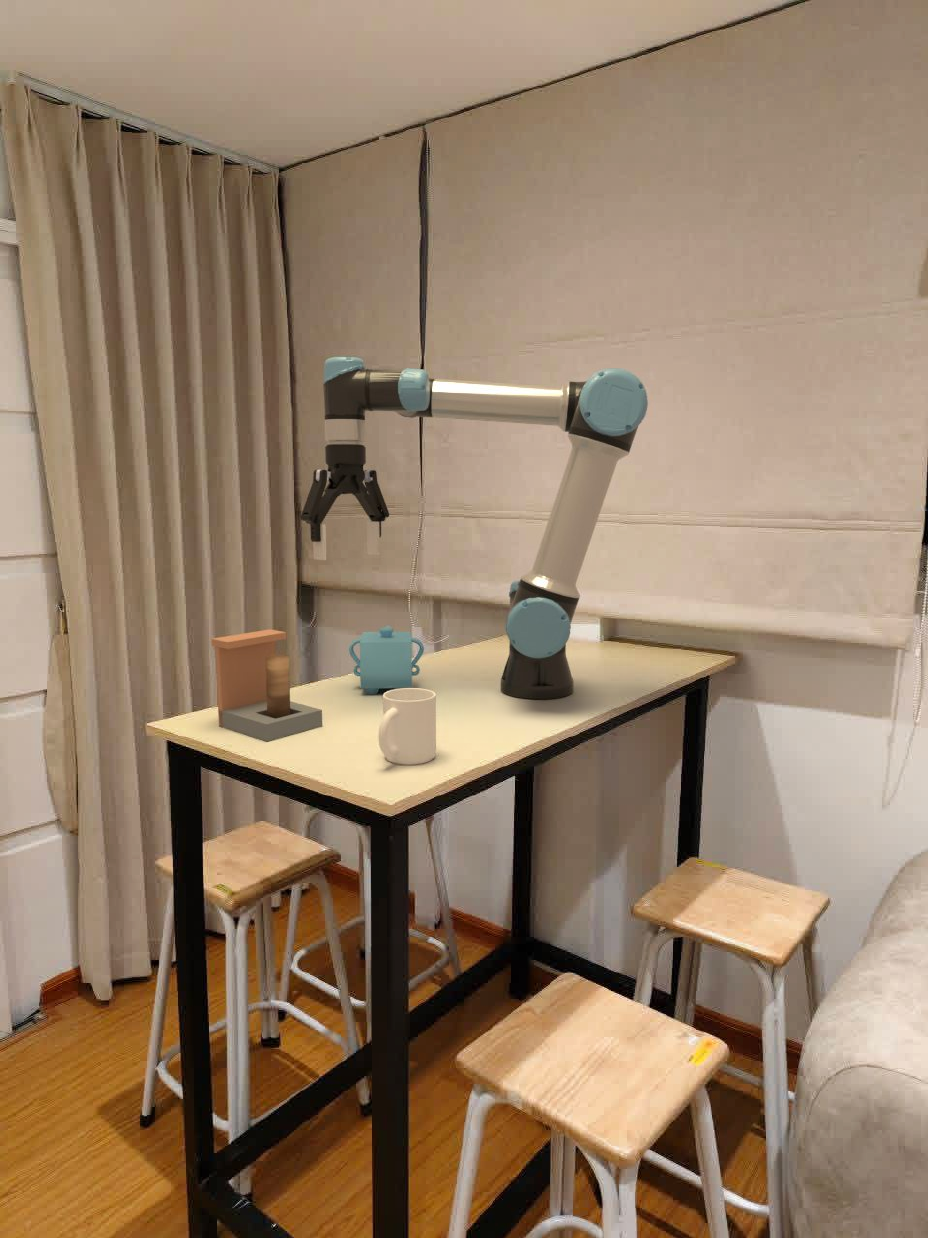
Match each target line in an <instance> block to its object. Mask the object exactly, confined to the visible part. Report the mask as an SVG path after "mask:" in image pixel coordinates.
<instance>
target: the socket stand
mask: <svg viewBox="0 0 928 1238" xmlns="http://www.w3.org/2000/svg"><path fill="white" fill-rule="evenodd" d="M287 638H288V637H287V632H286V631H281V630H276V629H271V628H270V629H264V630H259V631H251V632H245V633H239V634H233V635H227V636H220V637H214V638H211V646H213V647H214V649H215V671H216V673H215V674H216V689H217V690H216V691H217V712H218V713H217V714H218V715H217V716H218V727H220V728H224V729H226V730H230V731H233V732H235V733H239V734H243V735H245V736H248V737H251V738H255V739H258V740H260V741H264V742H271V741H275V740H278V739H281V738H282V739H283V738H285V737H288V736H293V735H295V734H298V733H303V732H306V731H309V730H314V729H316V728H320V727H321V728H322V727H323V709H321V708H316V707H313V706H310V705H305V704H302V703H298V702H293V701H291V700H290V715H288V716H284V717H281V718H277V719H275V718H271V717H268V716H267V692H266V656H268V655H273V654H277V653H276V641H281V640H282V641H283V640H287Z"/></svg>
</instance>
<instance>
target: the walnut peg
mask: <svg viewBox="0 0 928 1238" xmlns="http://www.w3.org/2000/svg"><path fill="white" fill-rule="evenodd" d="M290 680H291V678H290V656H289V655H288V654H285V653H276V654H273V655H268V656H266V692H267V716H268V717H271V718H275V719H277V718H281V717H284V716H288V715H290V701H291V692H290V691H291V689H290V688H291V687H290V686H291V685H290V684H291V683H290Z"/></svg>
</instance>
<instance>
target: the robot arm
mask: <svg viewBox="0 0 928 1238" xmlns="http://www.w3.org/2000/svg"><path fill="white" fill-rule="evenodd" d="M323 366H324V367H323V382H322V386H323V387H322V388H323V404H324V405H323V408H324V441H326V443H328V444H326V446H325V448H324V451H325V452H324V453H325V458H324V459H325V464H326V465H327V470H326V469H315V470H313V479H312V484H311V487H310V490H309V493H308V495H307V498H306V501H305V503H304V507H303V510H302V511H301V514H300V519H301V521H303V522H305V523H306V524H308V525H309V526H310V528H309V529H310V541H311V542H313V543H312V544H313V560H318V561H327V560H328V559H327V531H326V530H327V528H326V524H325V523H323V522H324V520H325V518H326V516H327V515H328V513H329V511H330V510H331V508H332V507H333V505H334V503H335V502H336V500H337V498H338V497H340V496H341V495H352V496H354V497H355V498H356V500H357V501H358V503H359V504H360V506H361V508H362V510H363V511H364V512H365V513H366V515H367V517H368V518H369V520H367V521H366V541H367V543H366V546H367V547H366V548H367V549H366V551H367V553H366V554H367V555H369V556H380V555H381V552H380V549H381V547H380V538H381V537H382V522H385V521H386V519H387V518H389V517H390V512H389V509H388V506H387V504H386V501H385V499H384V495H383V493H382V491H381V488H380V485H379V482H378V474H377V471H376V470H375V469H373V470H370V469H366V470H365V469H364V466H365V464H366V463H367V456H366V455H367V454H366V446H365V445H364V443H365V442H366V412H395V413H397V414H398V415H399V416H401V417H404V418H409V419H410V418H417V417H418V418H435V419H436V418H437V419H451V420H452V419H454V420H464V421H465V420H467V421H468V420H469V421H481V422H482V421H483V422H496V423H497V422H498V423H510V424H511V423H512V424H527V425H528V424H529V425H539V426H543V425H544V426H555V427H556V426H558V427H559V428H560V430H561V431H562V432H566V433H567V432H568V434H567V437H568V439H569V441H570V444H571V451H570V454H569V457H568V460H567V463H566V466H565V468H564V472H563V475H562V478H561V482H560V484H559V487H558V490H557V493H556V497H555V499H554V503H553V505H552V508H551V512H550V514H549V517H548V521H547V523H546V527H545V530H544V533H543V535H542V539H541V542H540V545H539V548H538V551H537V553H536V557H535V560H534V563H533V565H532V569H531V570H530V571H529V572H526V573H525V574H523V575H522V576H521V577H520V580H514V581H513V582H512V583H511V584H510V587H509V592H508V597H509V611H508V615H507V617H506V621H505V631H506V636H507V638H508V640H509V652H508V657H507V659H506V662H505V666H504V669H503V673H502V676H501V677H500V691H501V693H503V694H505V695H508V696H511V697H514V698H521V699H528V700H529V699H534V700H535V699H536V700H547V699H548V700H550V699H551V700H552V699H558V698H564V697H567V696H570V695H571V694H572V693H574V678H573V677H572V673H571V668H570V666H569V662H568V658H567V654H566V653H567V650H566V649H567V648H566V647H567V643H568V641H569V638H570V635H571V629H572V626H571V625H572V624H571V623H572V622H573V618H574V615H575V612H576V609H577V606H578V604H579V602H580V601H579V600H580V597H581V595H580V593H579V591H578V588H577V582H578V581H577V580H578V578H579V576H580V573H581V569H582V566H583V564H584V560H585V557H586V556H587V555H586V554H587V552H588V549H589V546H590V543H591V540H592V537H593V534H594V531H595V528H596V525H597V523H598V520H599V517H600V513H601V511H602V507H603V504H604V502H605V499H606V496H607V493H608V490H609V488H610V485H611V481H612V479H613V475H614V473H615V470H616V466H617V463H618V461H620V460H621V459H622V458H625V457H626V456H629V454H630V451H631V449H632V445H633V444H634V441H635V437H636V434H637V432H638V428H639V426H640V424H641V423H642V422H643V421H644V418H645V417H646V414H647V411H648V403H649V402H648V393H647V391H646V388H645V386H644V384H643V382H642V381H641V380H640V378H639V377H637V375H635V374H634V373H633V372H631V371H629V370H626V369H623V368H606V369H602V370H601V369H600V371H597V372H596V373H594V374H593V375H591V376H590V377H589V378H588V380H586V381H567V382H565V383H564V384H563V385H561V386H560V385H559V386H557V385H545V384H544V385H543V384H527V383H526V384H525V383H524V384H522V383H512V382H511V383H510V382H493V381H479V380H477V381H475V380H462V379H460V380H459V379H443V378H429V373H428V372H427V370H425V369H421V368H419V369H418V368H411V367H406V368H392V369H391V368H389V369H386V368H384V369H383V368H382V369H381V368H380V369H371V368H370V369H369V368H366V366H365V361H364V360H363V359H362V358H359V357H356V356H355V357H354V356H350V357H349V356H335V357H334V356H333V357H329V358H328V359H326V360H325V362H324V364H323ZM327 483H328V484H327Z"/></svg>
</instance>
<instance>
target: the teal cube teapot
mask: <svg viewBox="0 0 928 1238" xmlns="http://www.w3.org/2000/svg"><path fill="white" fill-rule="evenodd" d="M378 630H379V631H363V632H362V633H361V637H360V638H356V639H354V640H353V641H352V642H351V643H350V644H349V647H348V652H349V655H350V657H351V658H352V660H353V661H354V663H355V664H357V665H355V666H354V667H353V674H354V675H355V676H356V677H359V678H360V679H359V680H360V681H359V683H360V689H366V690H365V692H364V694H367V695H376V694H378V692H379V689H401V688H413V677H416V676H418V675H419V674H420V673H421V672H420V671H421V669H420V667H419V666H420V665H418V664H417V663H418V661H419V660H420V659H421V657H422V656H423V655H424V649H425V647H424V644H423V642H422V641H421V640H420V639H419V638H416V637H412V631H394V628H392V627H391V626H390V625H385V626H384V627H380V628H379V629H378ZM412 643H415V644H416V645H418V646H419V650H418V651H417V654H416V655H415V657H414V658H413V656H412V655H413V654H412V653H413V652H412V649H413V648H412V647H413V646H412ZM357 644H359V658H358V656H357V655H356V653H355V652H354V647H355V646H357ZM414 668H415V669H416V670H415V671H413V669H414ZM358 669H359V671H358Z"/></svg>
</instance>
